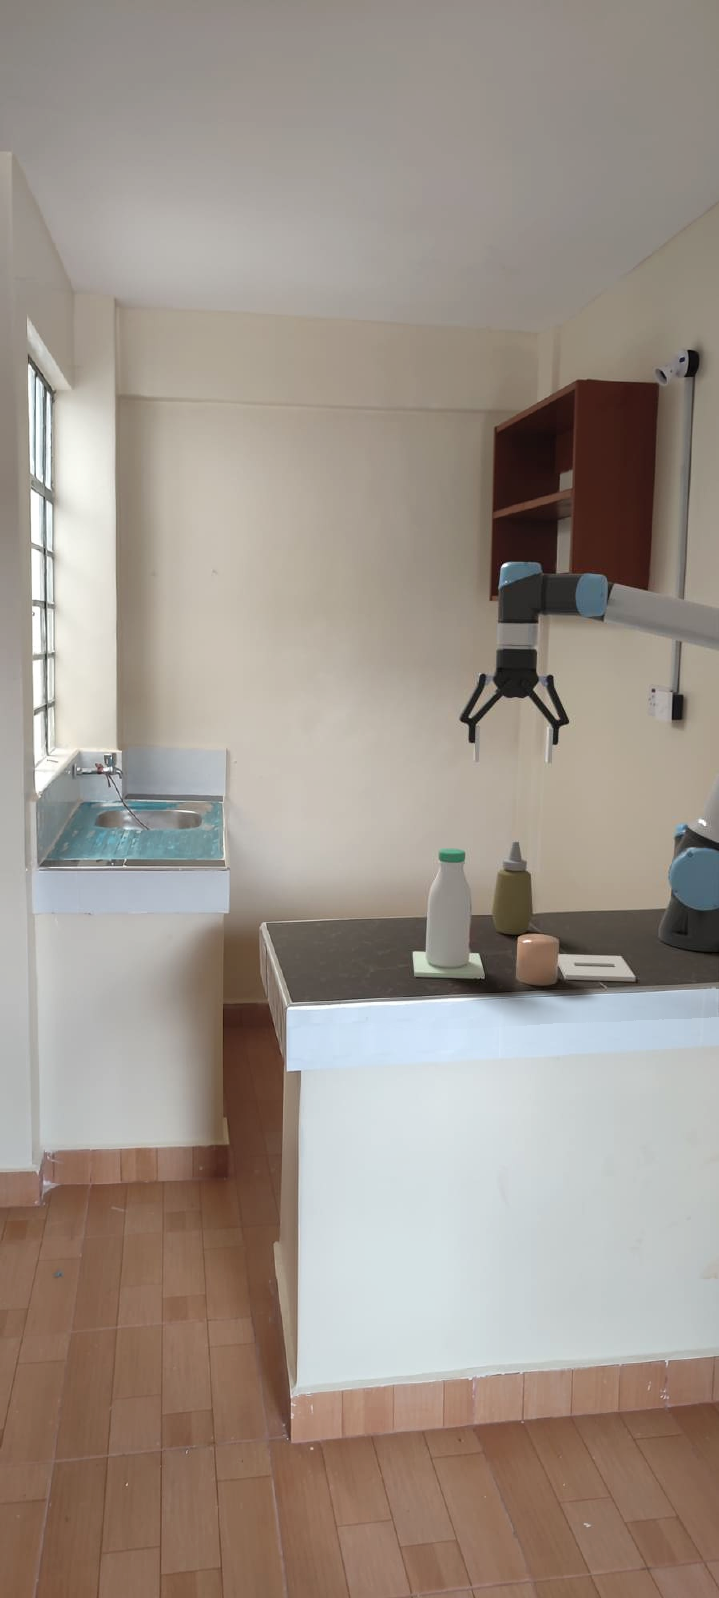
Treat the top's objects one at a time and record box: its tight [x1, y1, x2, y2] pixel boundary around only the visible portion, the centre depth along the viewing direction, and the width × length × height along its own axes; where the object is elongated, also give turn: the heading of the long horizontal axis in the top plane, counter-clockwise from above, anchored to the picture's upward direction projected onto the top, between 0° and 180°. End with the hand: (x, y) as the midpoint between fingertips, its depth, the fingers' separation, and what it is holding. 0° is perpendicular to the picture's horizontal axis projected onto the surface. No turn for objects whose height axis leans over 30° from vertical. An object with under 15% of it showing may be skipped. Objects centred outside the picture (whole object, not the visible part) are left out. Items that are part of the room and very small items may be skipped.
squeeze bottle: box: [491, 841, 534, 936], centre depth 223 cm, size 8×8×18 cm
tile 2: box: [558, 953, 636, 982], centre depth 201 cm, size 12×12×1 cm
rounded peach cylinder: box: [515, 933, 560, 986], centre depth 195 cm, size 7×7×7 cm
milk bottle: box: [425, 848, 473, 967], centre depth 199 cm, size 8×8×20 cm
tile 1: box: [412, 950, 486, 980], centre depth 201 cm, size 12×12×1 cm
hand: (512, 761), depth 213 cm, fingers open, 13 cm apart
